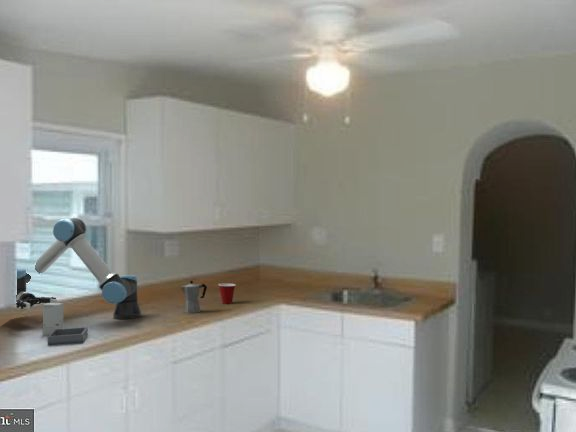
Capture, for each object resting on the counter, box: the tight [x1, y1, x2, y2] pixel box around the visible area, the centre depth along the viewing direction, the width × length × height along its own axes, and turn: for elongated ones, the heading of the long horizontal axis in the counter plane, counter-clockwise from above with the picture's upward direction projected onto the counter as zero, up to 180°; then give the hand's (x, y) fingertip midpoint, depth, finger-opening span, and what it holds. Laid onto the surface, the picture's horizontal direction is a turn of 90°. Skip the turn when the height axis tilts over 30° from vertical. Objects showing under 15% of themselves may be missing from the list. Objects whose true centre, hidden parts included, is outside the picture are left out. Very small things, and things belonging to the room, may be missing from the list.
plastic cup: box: [218, 283, 237, 305], centre depth 356 cm, size 11×11×12 cm
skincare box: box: [42, 302, 64, 336], centre depth 286 cm, size 8×6×15 cm
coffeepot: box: [179, 280, 208, 314], centre depth 332 cm, size 15×9×18 cm, turn 110°
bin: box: [47, 326, 89, 346], centre depth 270 cm, size 15×15×4 cm
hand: (43, 304), depth 292 cm, fingers open, 13 cm apart
